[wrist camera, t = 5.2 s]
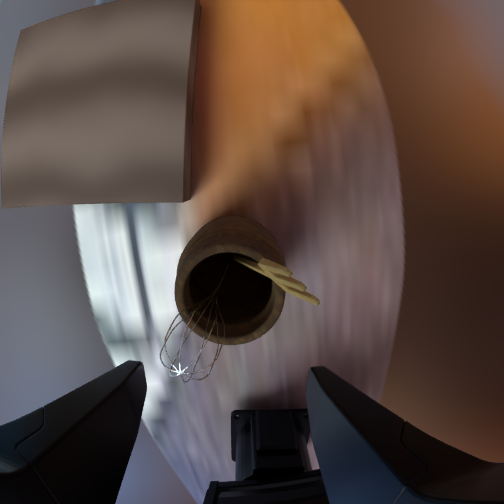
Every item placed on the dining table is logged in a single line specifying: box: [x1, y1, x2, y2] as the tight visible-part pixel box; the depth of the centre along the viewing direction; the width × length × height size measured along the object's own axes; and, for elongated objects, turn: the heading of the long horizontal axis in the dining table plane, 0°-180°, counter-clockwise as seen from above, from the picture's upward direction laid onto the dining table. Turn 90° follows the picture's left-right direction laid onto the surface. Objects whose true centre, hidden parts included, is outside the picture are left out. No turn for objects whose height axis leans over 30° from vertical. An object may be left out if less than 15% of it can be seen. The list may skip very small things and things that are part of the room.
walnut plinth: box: [1, 0, 201, 208], centre depth 17 cm, size 14×14×2 cm
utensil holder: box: [160, 216, 320, 383], centre depth 15 cm, size 6×6×12 cm
